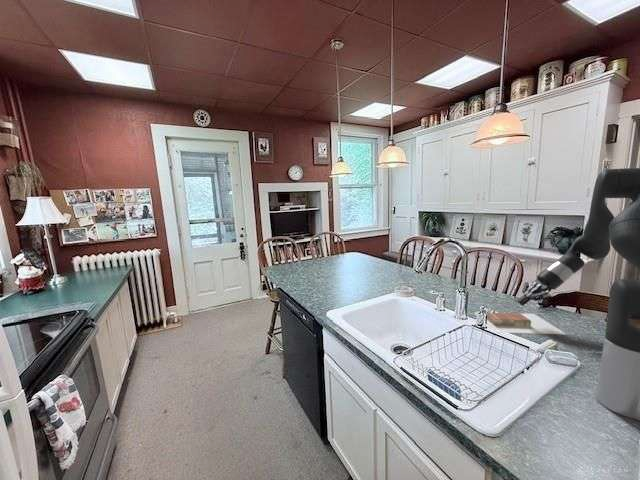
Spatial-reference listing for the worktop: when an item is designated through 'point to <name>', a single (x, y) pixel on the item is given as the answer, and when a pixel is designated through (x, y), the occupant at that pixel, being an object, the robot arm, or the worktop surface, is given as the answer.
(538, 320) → the rubber mat
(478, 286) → the worktop surface
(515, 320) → the wooden tile
